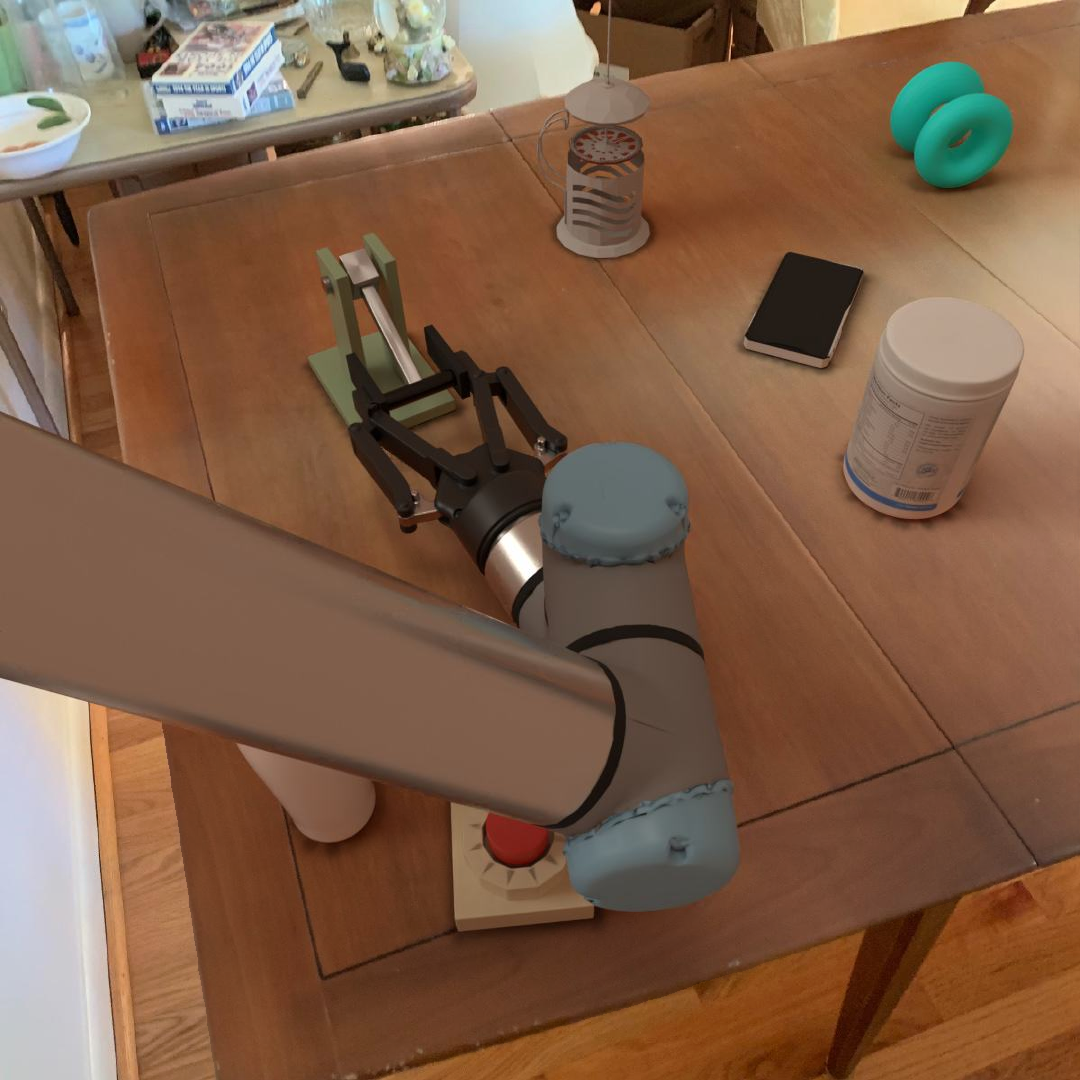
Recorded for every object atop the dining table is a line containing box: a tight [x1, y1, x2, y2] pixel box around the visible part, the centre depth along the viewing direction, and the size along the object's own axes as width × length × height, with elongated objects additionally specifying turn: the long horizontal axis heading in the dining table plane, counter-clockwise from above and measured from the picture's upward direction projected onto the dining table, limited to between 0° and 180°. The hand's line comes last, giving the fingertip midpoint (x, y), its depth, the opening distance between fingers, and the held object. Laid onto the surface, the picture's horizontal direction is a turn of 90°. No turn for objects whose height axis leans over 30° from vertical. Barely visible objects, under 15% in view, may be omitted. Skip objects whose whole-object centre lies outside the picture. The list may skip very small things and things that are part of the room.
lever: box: [338, 247, 457, 411], centre depth 77 cm, size 13×6×2 cm, turn 30°
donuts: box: [889, 61, 1014, 189], centre depth 104 cm, size 10×10×10 cm
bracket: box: [307, 232, 457, 429], centre depth 82 cm, size 12×9×14 cm
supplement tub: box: [842, 296, 1025, 520], centre depth 73 cm, size 10×10×15 cm
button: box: [486, 813, 549, 865], centre depth 56 cm, size 4×4×2 cm
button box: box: [450, 802, 595, 932], centre depth 58 cm, size 8×8×4 cm
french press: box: [535, 0, 651, 259], centre depth 92 cm, size 10×12×25 cm
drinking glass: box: [235, 743, 377, 844], centre depth 56 cm, size 7×7×15 cm
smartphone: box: [742, 251, 865, 369], centre depth 92 cm, size 8×1×15 cm
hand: (391, 353), depth 78 cm, fingers closed on lever, 6 cm apart
